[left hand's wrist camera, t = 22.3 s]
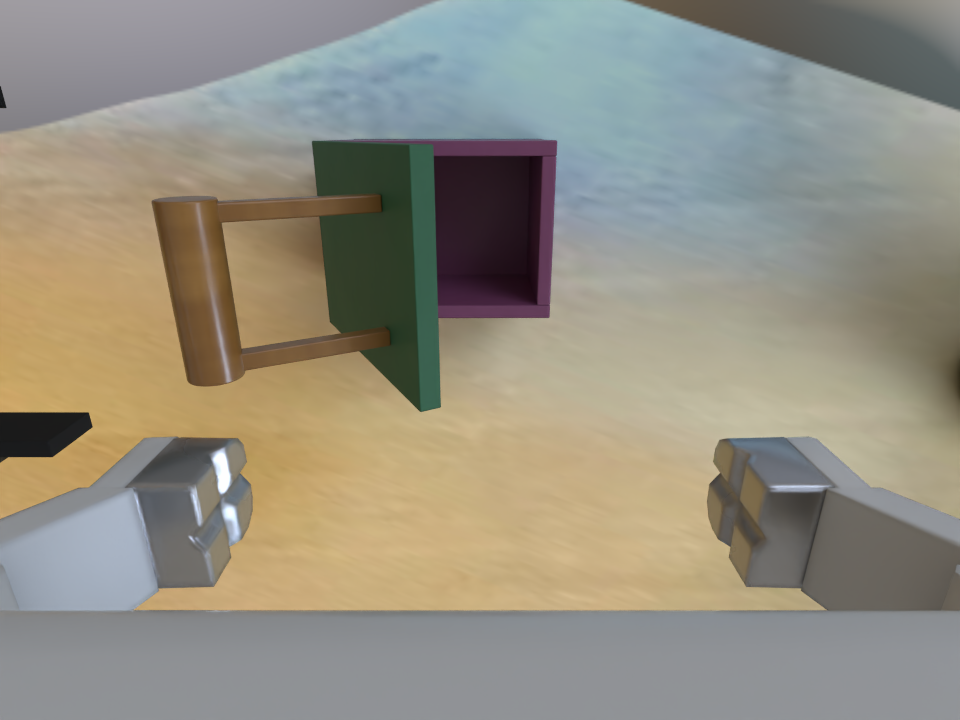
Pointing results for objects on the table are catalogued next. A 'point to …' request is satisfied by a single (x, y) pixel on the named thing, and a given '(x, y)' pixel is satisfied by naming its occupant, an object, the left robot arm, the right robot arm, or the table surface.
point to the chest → (492, 225)
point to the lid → (348, 268)
